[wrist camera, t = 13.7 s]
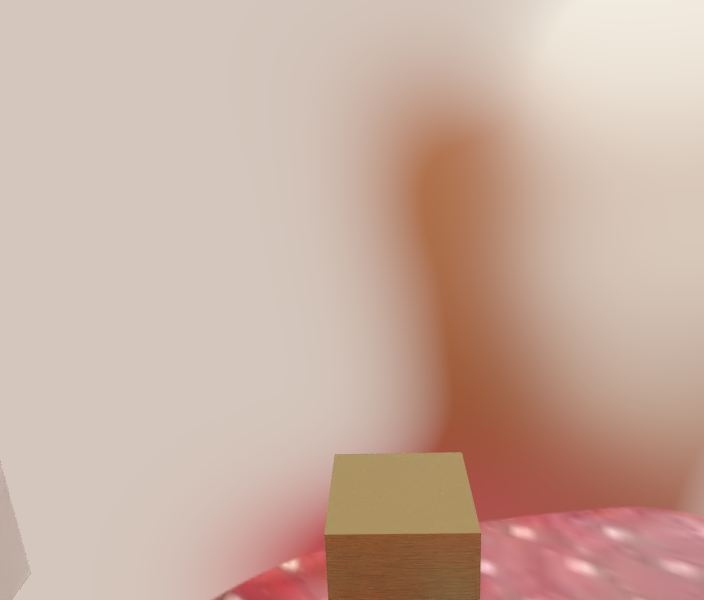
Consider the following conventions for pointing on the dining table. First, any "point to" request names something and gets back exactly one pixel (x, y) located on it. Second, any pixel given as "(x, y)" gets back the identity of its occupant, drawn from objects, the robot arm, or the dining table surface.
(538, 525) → the dining table surface
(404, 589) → the block
